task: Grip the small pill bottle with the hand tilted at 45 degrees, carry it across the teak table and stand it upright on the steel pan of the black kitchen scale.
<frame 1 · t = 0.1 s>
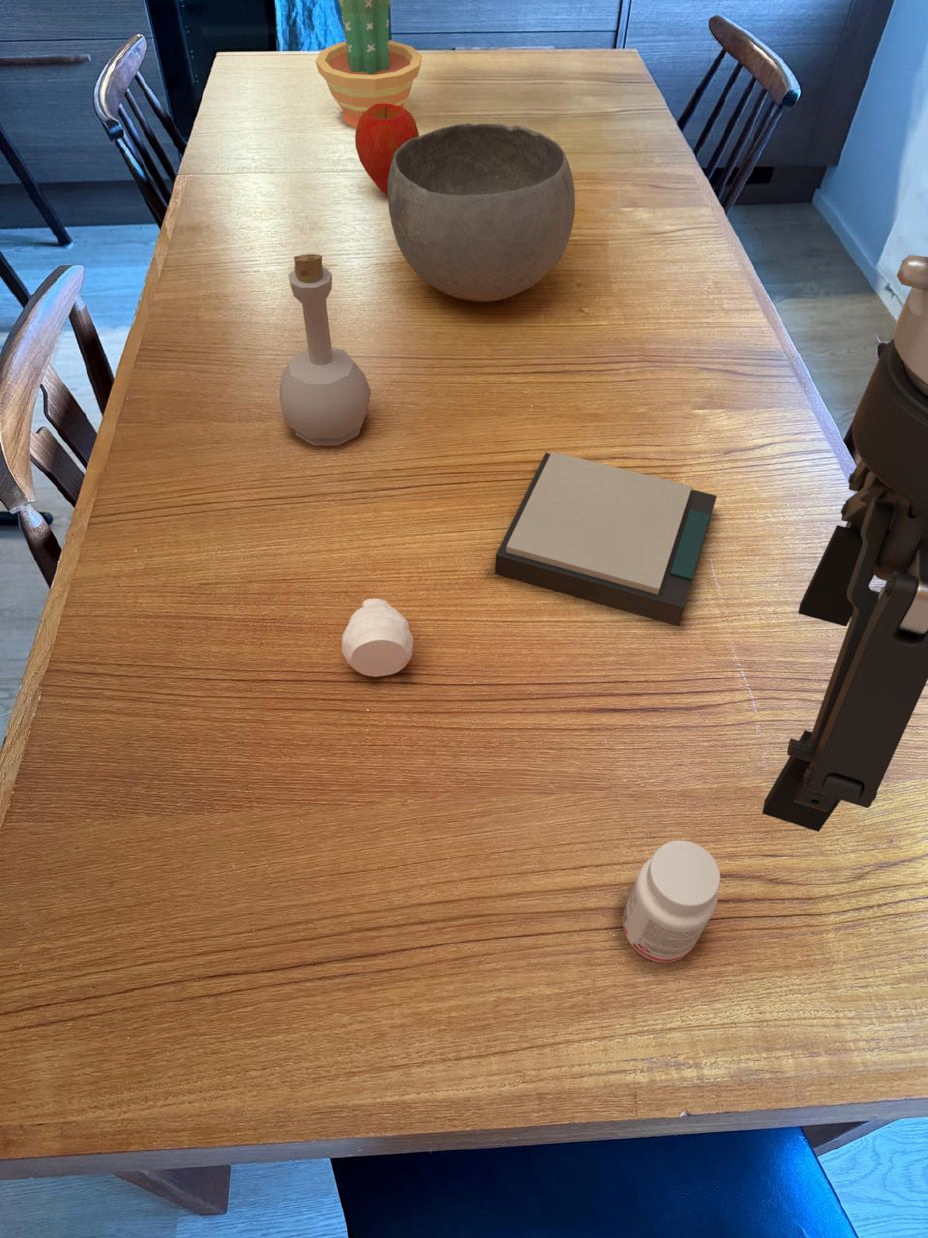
hand: (808, 707, 48), 17 cm above the table, tool pointing down, fingers open, 13 cm apart
garlic bulb: (378, 650, 72), on the table
scale: (606, 543, 79), on the table
apple: (390, 193, 120), on the table
potion bottle: (329, 425, 89), on the table
potted cactus: (372, 118, 135), on the table
bowl: (479, 285, 106), on the table
pill bottle: (658, 927, 58), on the table
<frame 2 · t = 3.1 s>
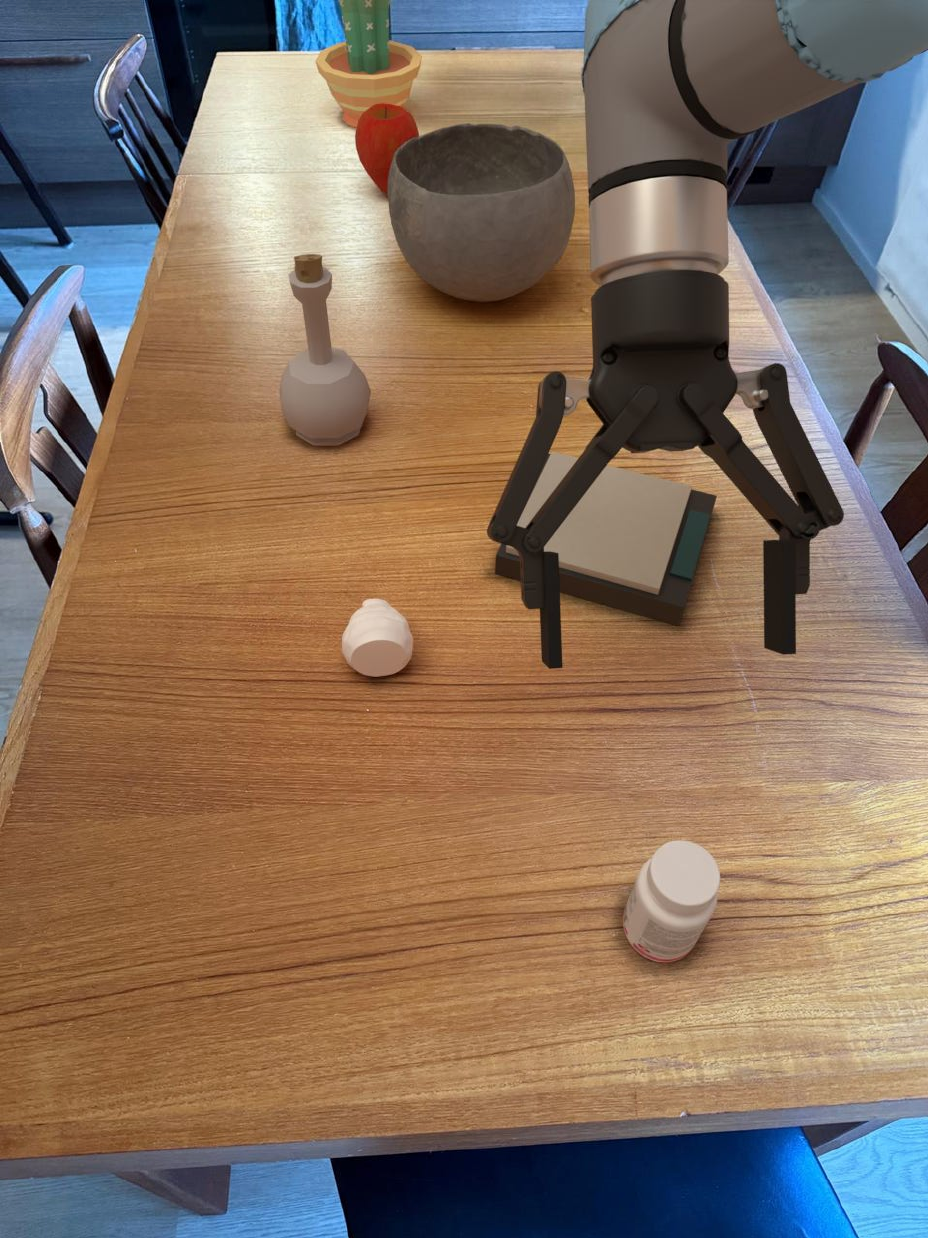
hand: (666, 658, 52), 15 cm above the table, tool tilted 45°, fingers open, 13 cm apart
nothing on the table moved.
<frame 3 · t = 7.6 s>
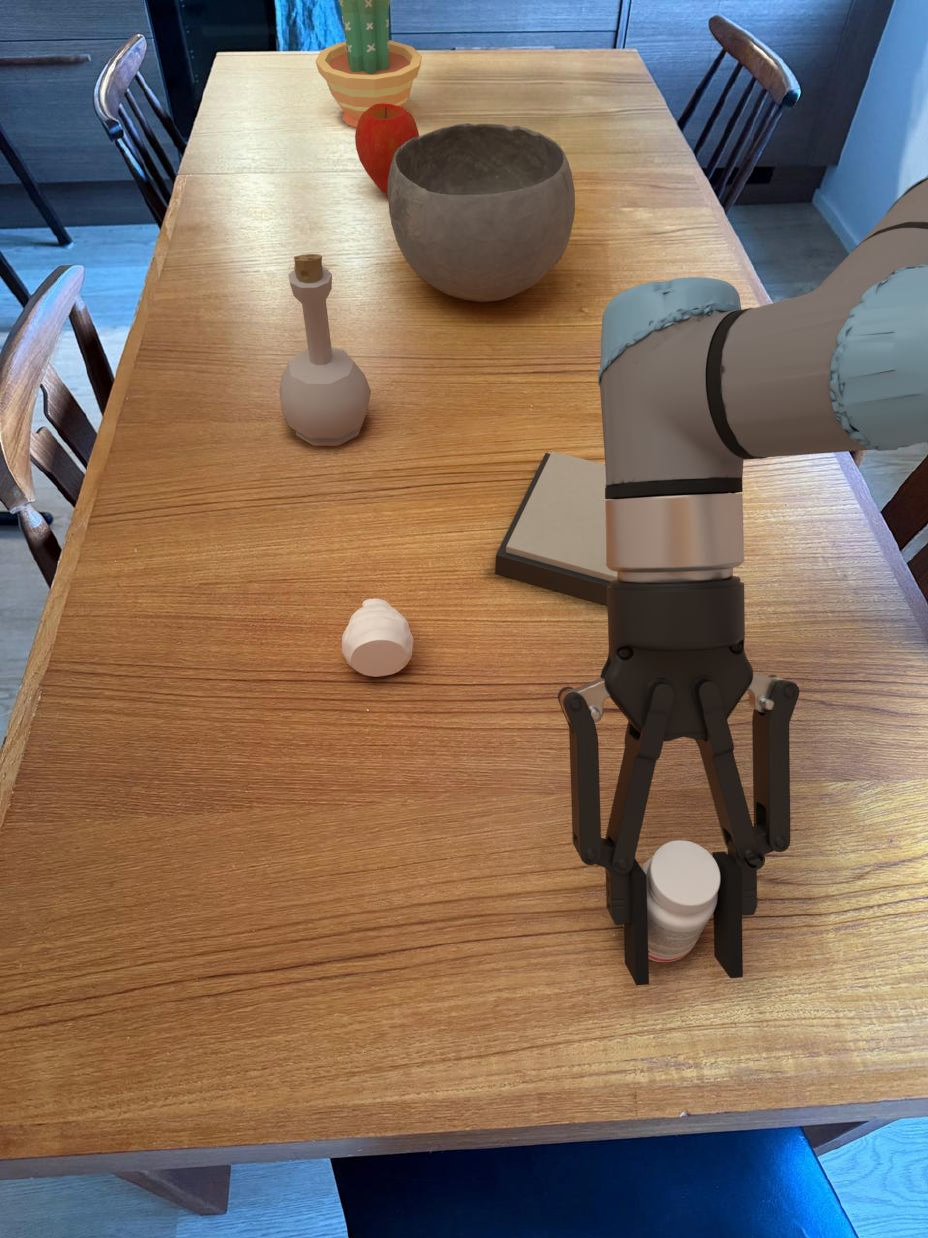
hand: (682, 969, 53), 3 cm above the table, tool tilted 45°, fingers closed on pill bottle, 5 cm apart
pill bottle: (658, 927, 58), on the table, touching gripper
everything else where it was.
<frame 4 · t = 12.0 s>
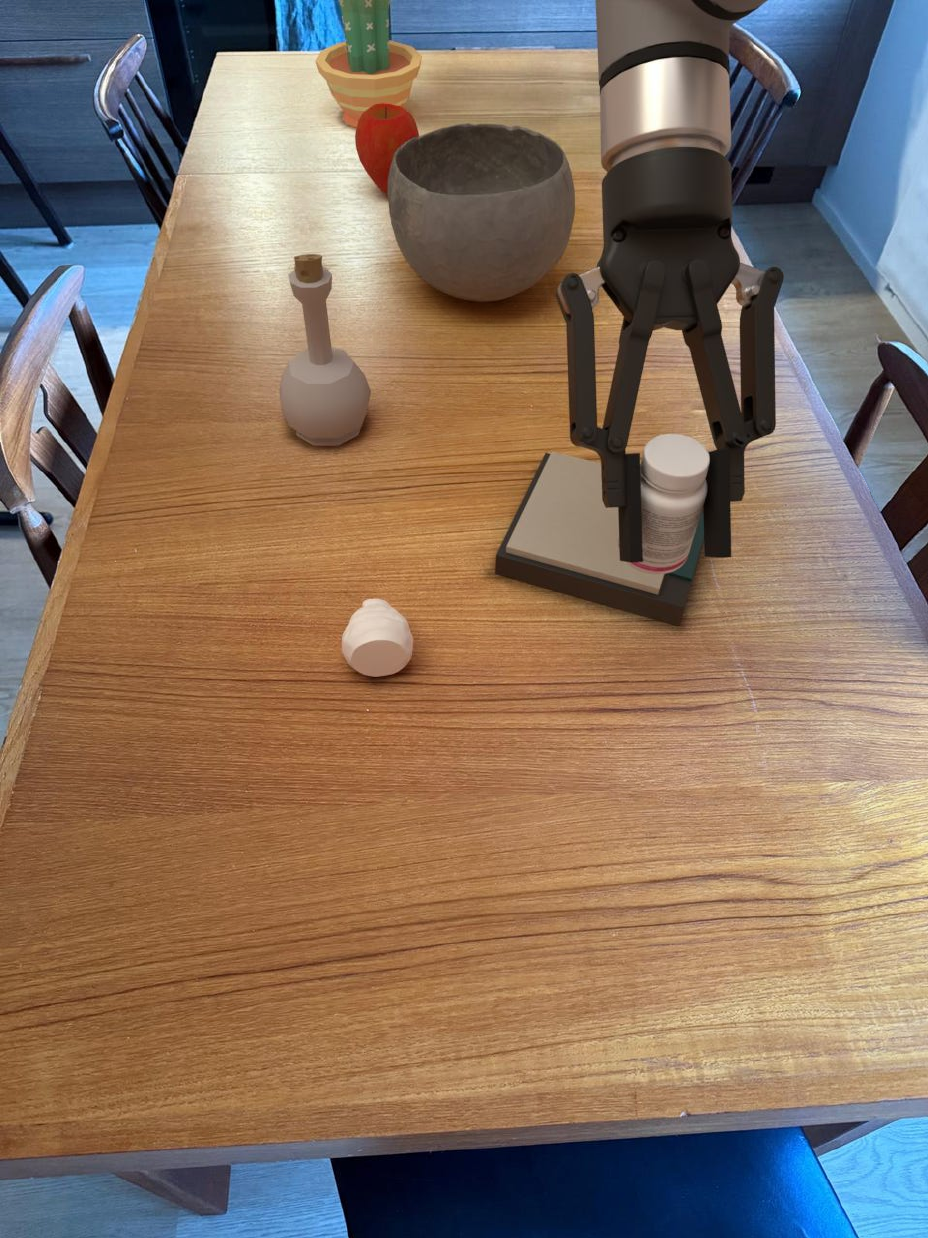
hand: (674, 558, 56), 16 cm above the table, tool tilted 45°, fingers closed on pill bottle, 5 cm apart
pill bottle: (651, 552, 61), point 13 cm above the table, touching gripper
everything else where it was.
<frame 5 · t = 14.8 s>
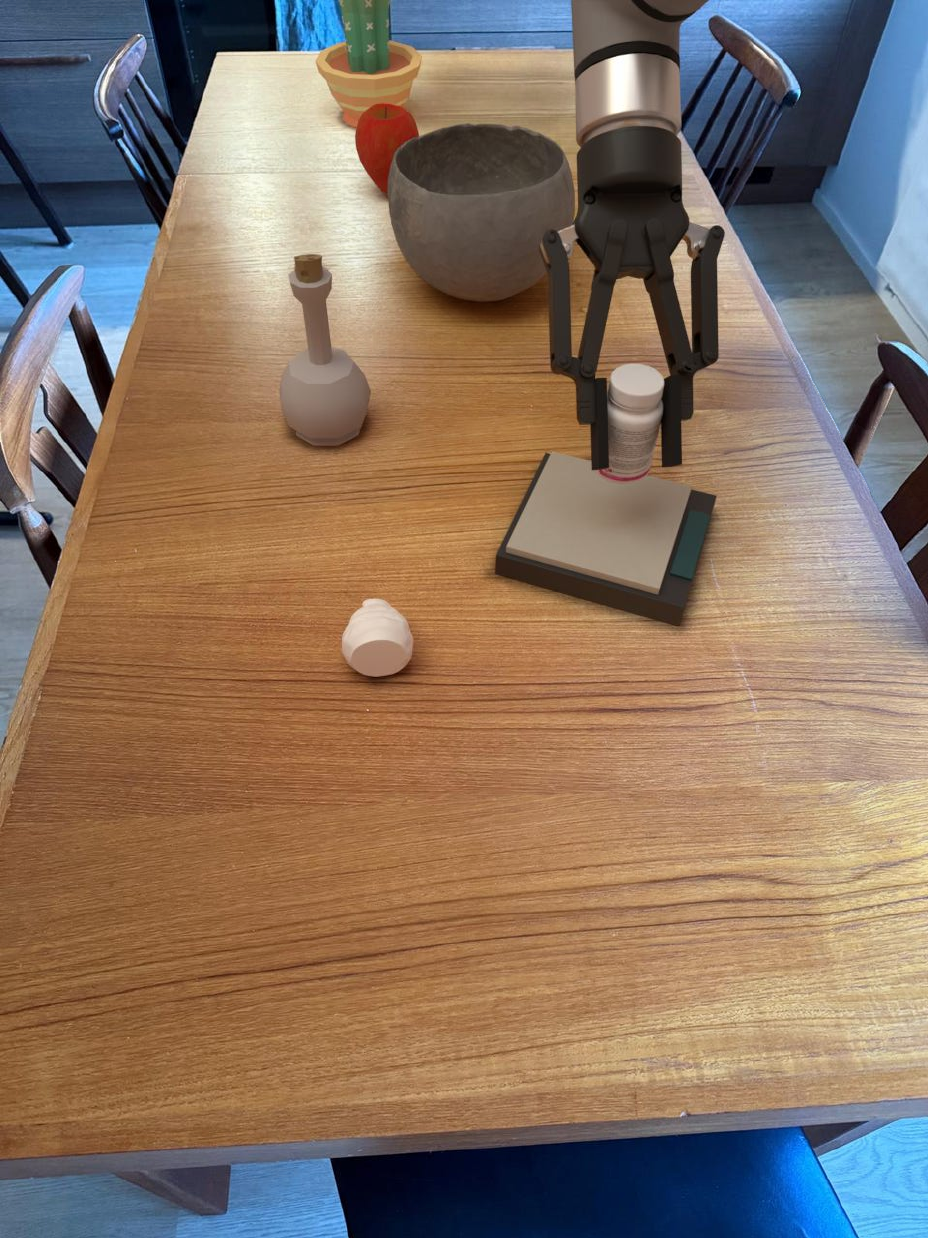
hand: (636, 466, 68), 12 cm above the table, tool tilted 45°, fingers closed on pill bottle, 5 cm apart
pill bottle: (620, 468, 73), point 9 cm above the table, touching gripper
everything else where it was.
when the fingers open (6 cm above the table, at t = 16.7 s): pill bottle stays where it is, resting on scale.
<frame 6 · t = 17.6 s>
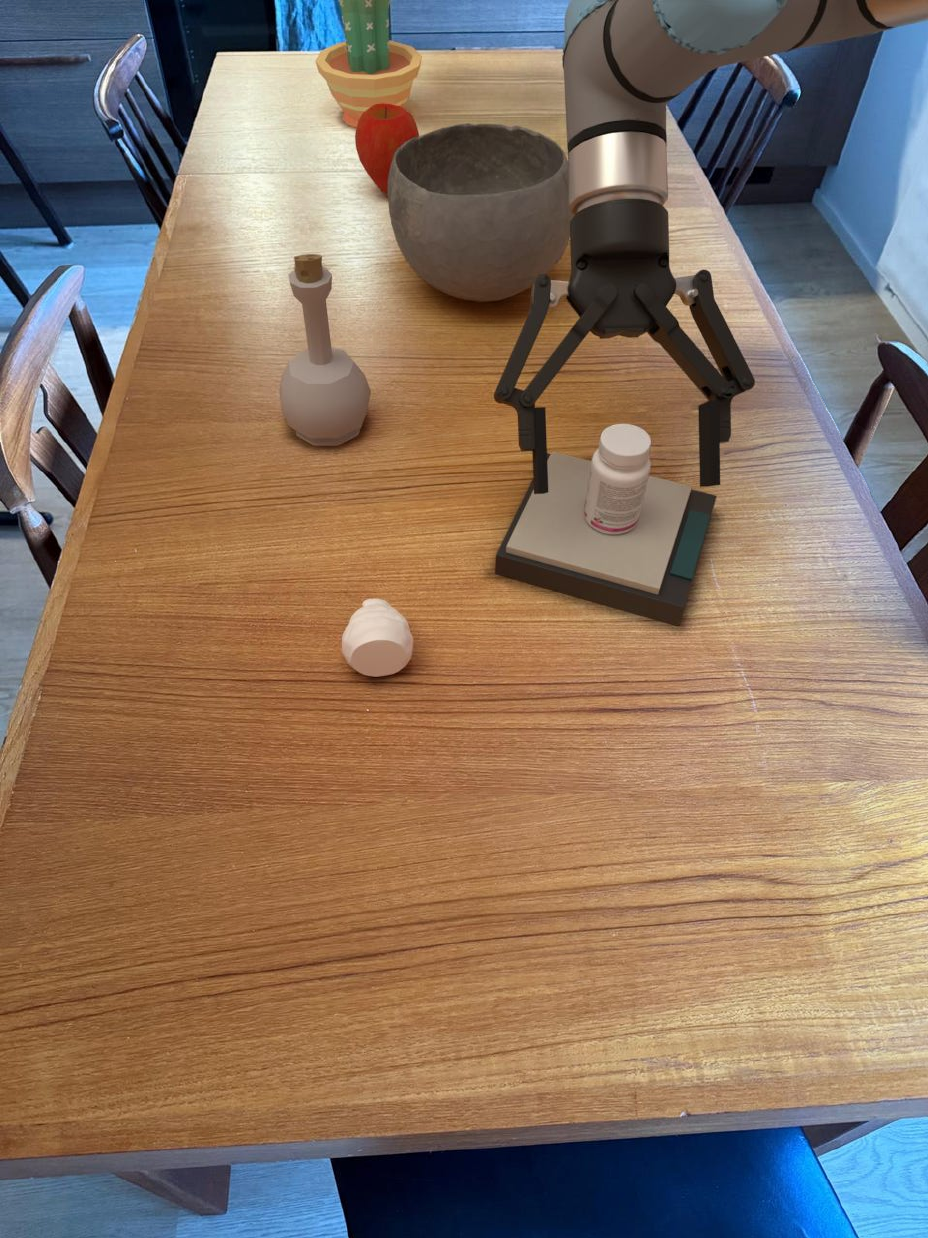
hand: (626, 490, 71), 8 cm above the table, tool tilted 45°, fingers open, 13 cm apart
pill bottle: (610, 518, 77), point 3 cm above the table, touching scale
everything else where it was.
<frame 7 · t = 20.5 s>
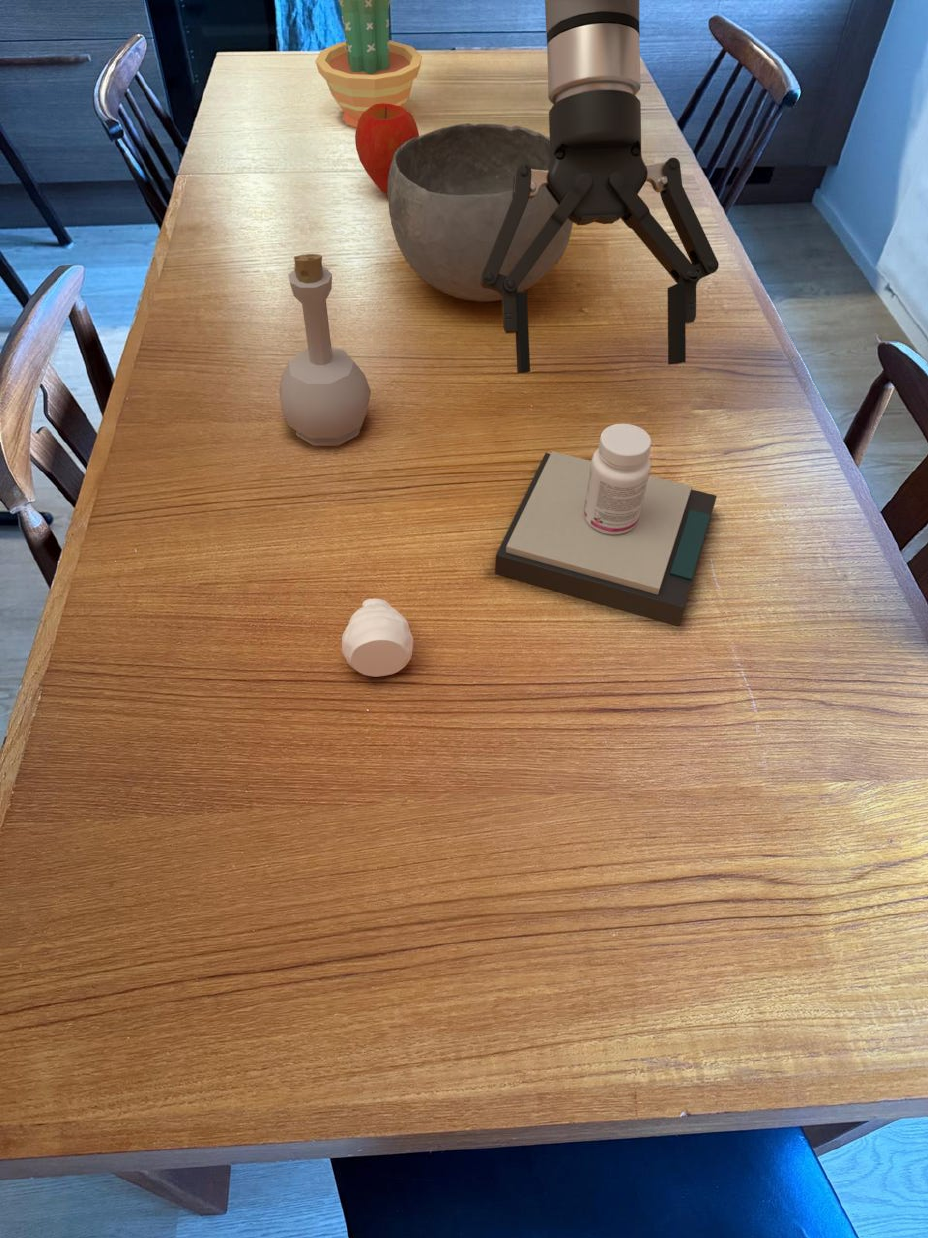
hand: (600, 368, 79), 10 cm above the table, tool tilted 40°, fingers open, 13 cm apart
nothing on the table moved.
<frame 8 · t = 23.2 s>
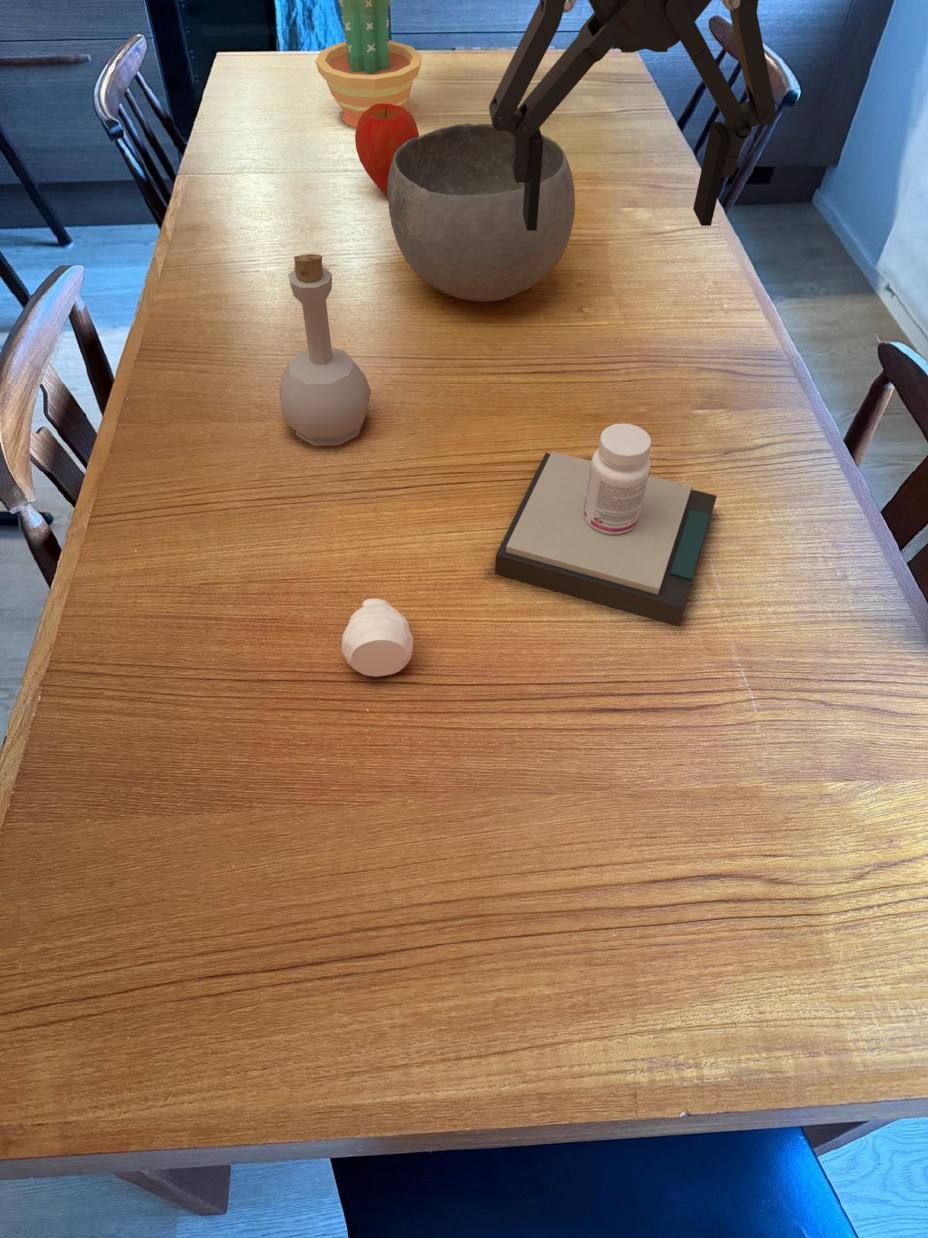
hand: (616, 220, 70), 23 cm above the table, tool pointing down, fingers open, 13 cm apart
nothing on the table moved.
at the end: pill bottle inside the target area on the scale (0.8 cm from its centre), point 3.0 cm above the scale's base; pill bottle tilted 0°; the gripper is holding nothing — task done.
